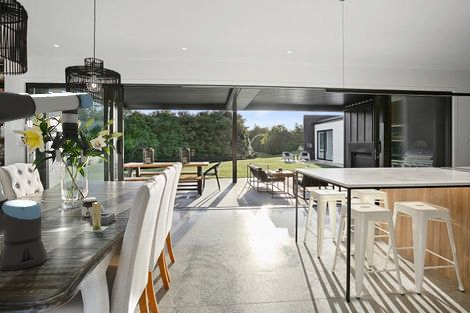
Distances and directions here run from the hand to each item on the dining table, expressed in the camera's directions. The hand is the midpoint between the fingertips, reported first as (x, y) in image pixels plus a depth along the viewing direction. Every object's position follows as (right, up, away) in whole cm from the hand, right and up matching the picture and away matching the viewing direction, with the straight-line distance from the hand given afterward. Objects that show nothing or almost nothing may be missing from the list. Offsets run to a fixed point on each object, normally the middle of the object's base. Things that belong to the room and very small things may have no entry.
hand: (70, 162), depth 151 cm
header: (+10, -36, +15) cm, 40 cm away
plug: (+14, -36, 0) cm, 39 cm away
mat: (+14, -36, 0) cm, 39 cm away
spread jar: (-2, -35, +29) cm, 45 cm away
